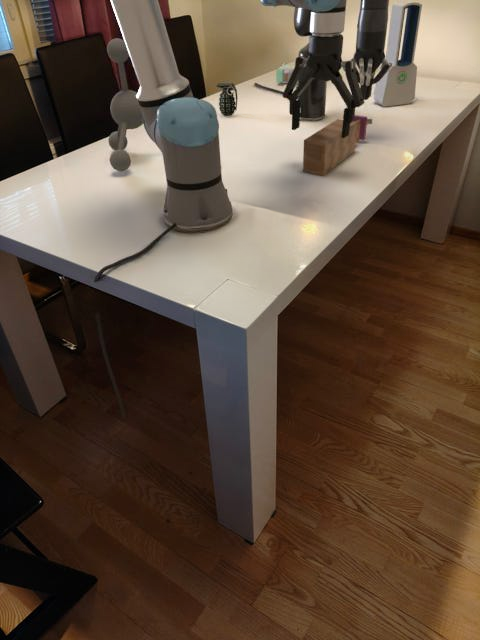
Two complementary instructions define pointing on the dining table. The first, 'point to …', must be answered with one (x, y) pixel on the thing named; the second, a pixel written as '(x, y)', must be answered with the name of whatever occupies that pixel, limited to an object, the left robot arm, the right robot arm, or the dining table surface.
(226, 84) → the grenade
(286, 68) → the decorative block
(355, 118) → the purple elongated piece
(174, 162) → the left robot arm
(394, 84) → the electronic device
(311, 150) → the brown wooden brick
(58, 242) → the dining table surface
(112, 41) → the molecular model
